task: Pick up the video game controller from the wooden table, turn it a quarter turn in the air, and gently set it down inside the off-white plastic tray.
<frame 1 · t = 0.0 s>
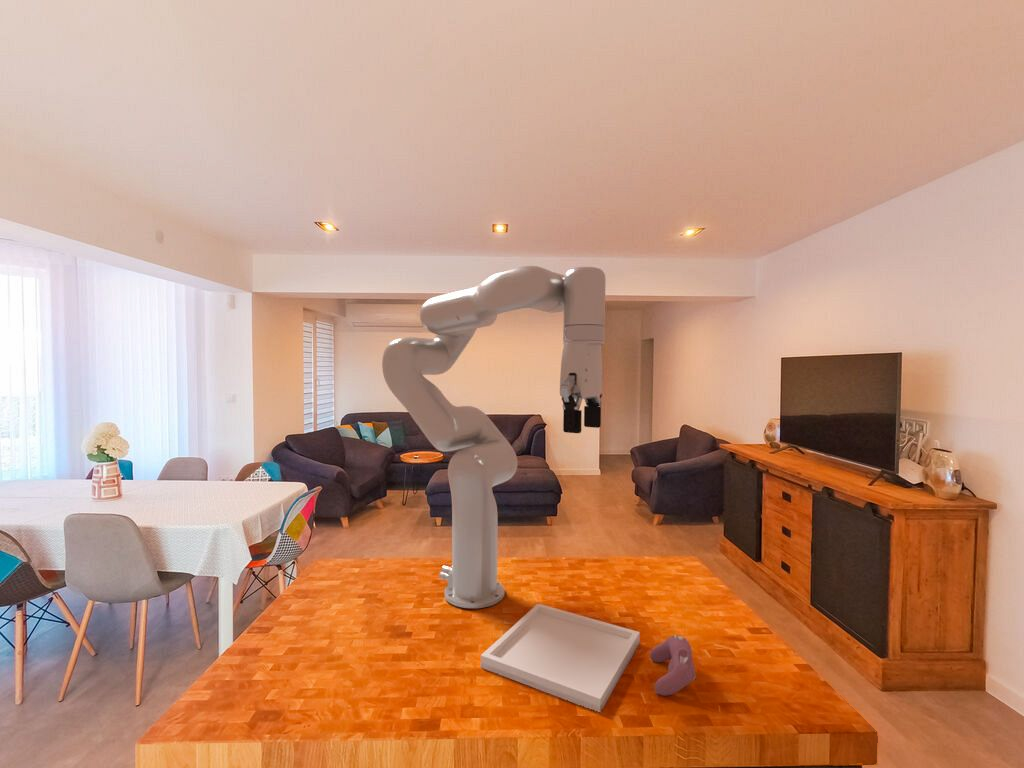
hand: (582, 429, 89), 37 cm above the table, tool pointing down, fingers open, 9 cm apart
tray: (563, 654, 81), on the table
video game controller: (671, 680, 75), on the table
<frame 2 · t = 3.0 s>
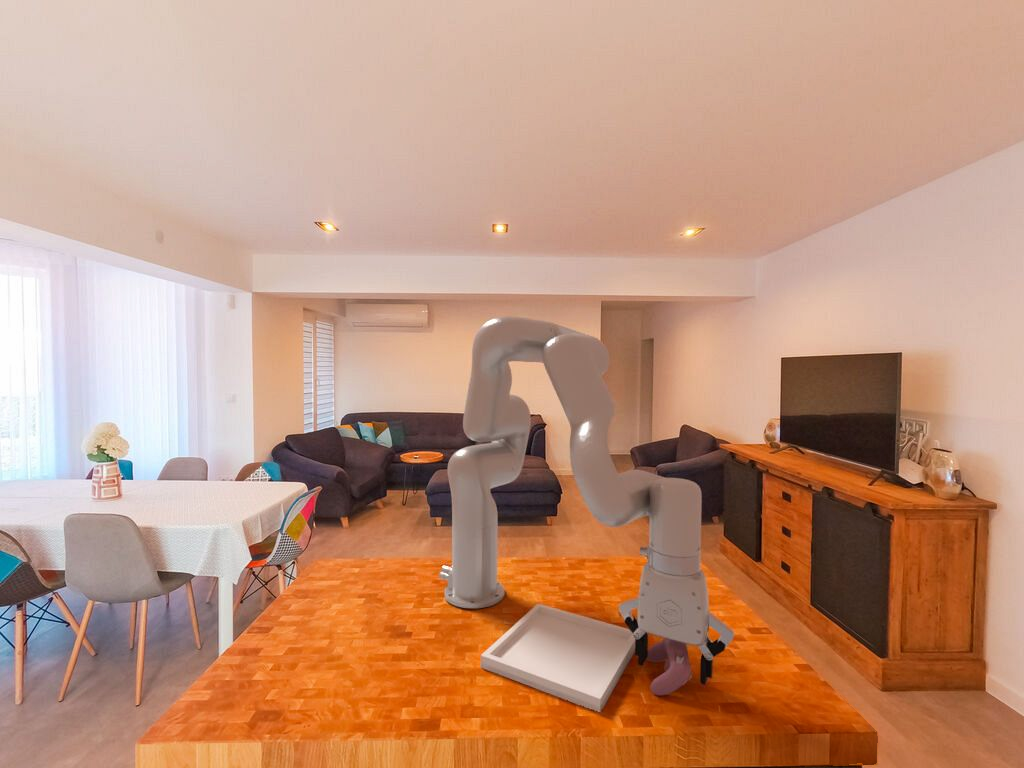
hand: (672, 670, 75), 1 cm above the table, tool pointing down, fingers open, 8 cm apart
video game controller: (667, 680, 75), on the table, touching gripper
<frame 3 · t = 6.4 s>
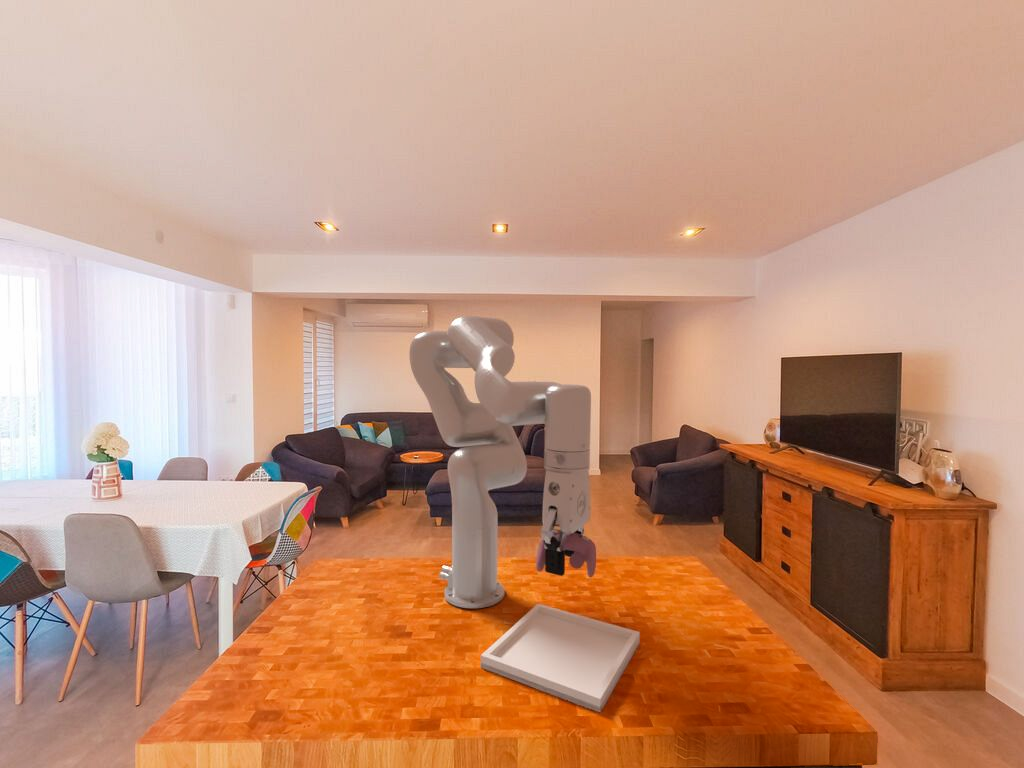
hand: (564, 564, 81), 15 cm above the table, tool pointing down, fingers closed on video game controller, 7 cm apart
video game controller: (566, 570, 81), point 14 cm above the table, touching gripper
when the fingers open (2 cm above the table, at t = 9.2 s): video game controller stays where it is, resting on tray.
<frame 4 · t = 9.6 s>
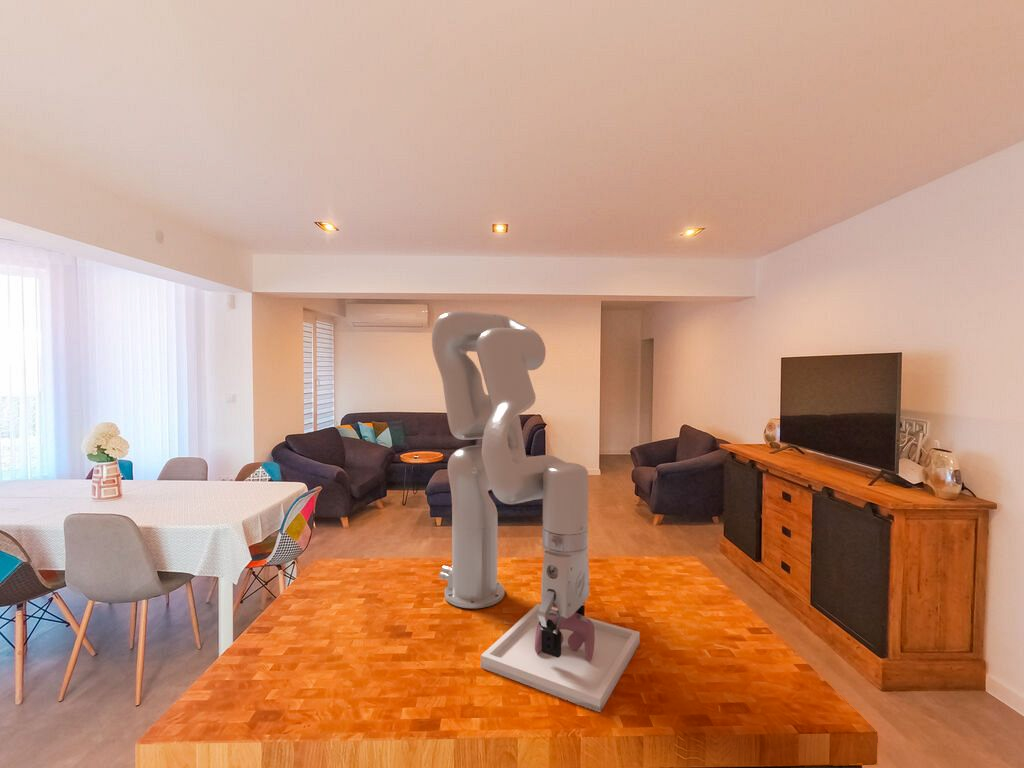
hand: (563, 639, 81), 3 cm above the table, tool pointing down, fingers open, 9 cm apart
video game controller: (564, 650, 81), point 1 cm above the table, touching tray
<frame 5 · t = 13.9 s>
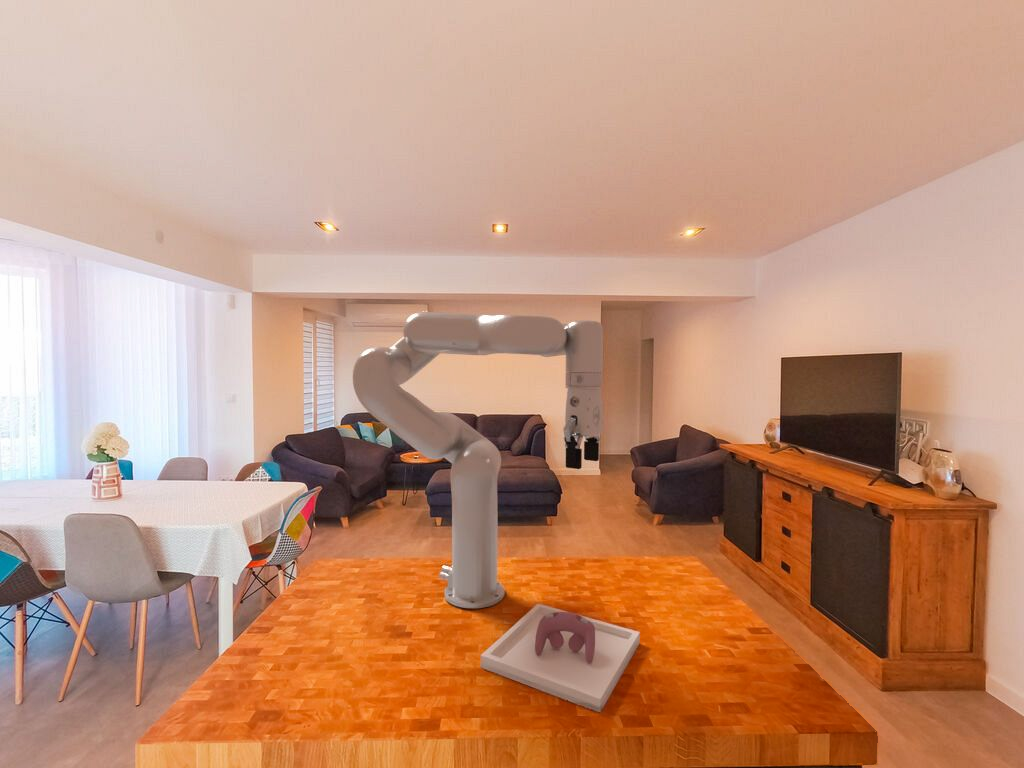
hand: (582, 464, 100), 28 cm above the table, tool pointing down, fingers open, 9 cm apart
nothing on the table moved.
at the end: video game controller inside the target area on the tray (0.5 cm from its centre), point 0.6 cm above the tray's base; the gripper is holding nothing; video game controller moved 16.9 cm from its start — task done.
